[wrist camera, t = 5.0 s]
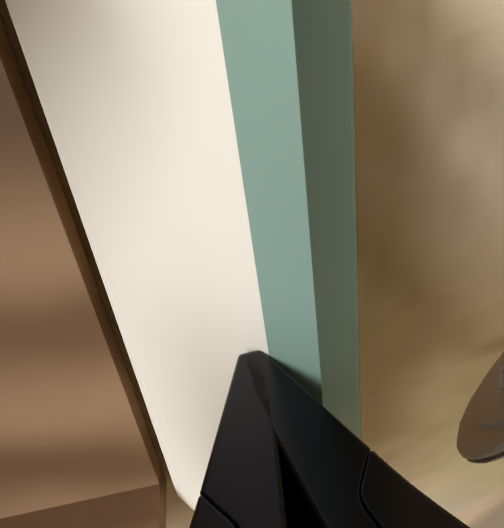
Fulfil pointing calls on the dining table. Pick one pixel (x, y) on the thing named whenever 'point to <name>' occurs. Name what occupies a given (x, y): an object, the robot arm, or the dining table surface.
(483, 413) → the spaceship
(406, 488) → the robot arm
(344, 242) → the tailgate
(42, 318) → the crate
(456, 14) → the dining table surface
